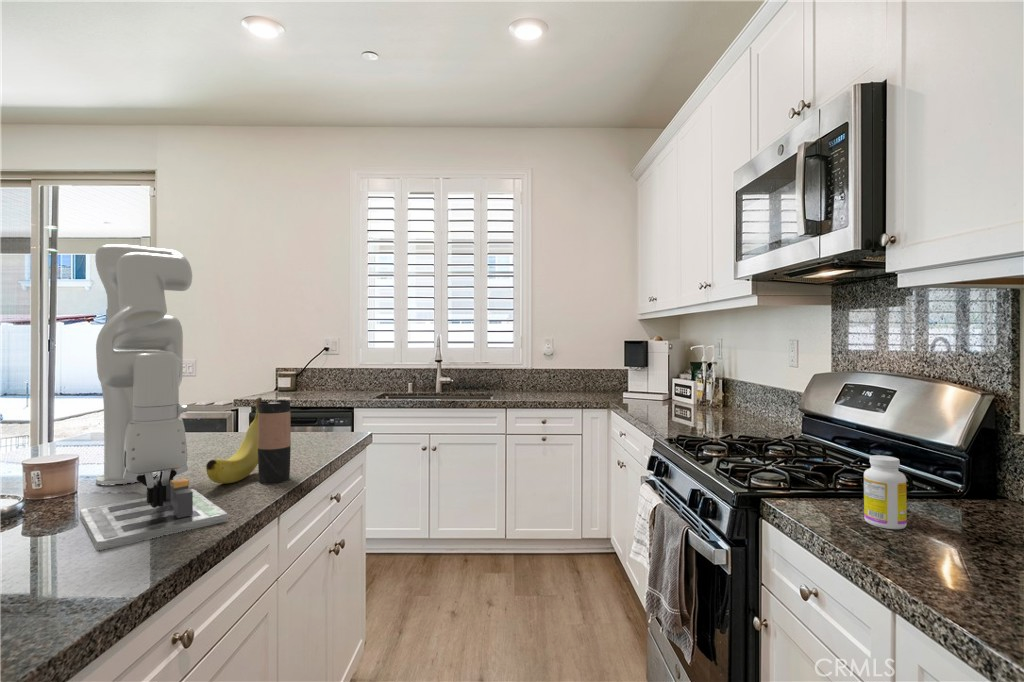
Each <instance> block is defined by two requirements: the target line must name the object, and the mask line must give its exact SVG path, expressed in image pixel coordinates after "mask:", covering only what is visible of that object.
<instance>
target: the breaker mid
mask: <svg viewBox="0 0 1024 682" xmlns="http://www.w3.org/2000/svg"><path fill="white" fill-rule="evenodd" d="M170 485H171V505H172V506H173V507H174V491H178V490H184V489H190V488H189V487H190V481H189V479H187V478H186V477H183V478H175V479H173V480H170Z"/></svg>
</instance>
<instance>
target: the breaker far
mask: <svg viewBox="0 0 1024 682" xmlns="http://www.w3.org/2000/svg"><path fill="white" fill-rule="evenodd" d="M155 479H156V481H155V484H157V482H158V481H159V476H156V478H155ZM171 480H174V477H173V478H172V479H171ZM167 499H171V485H170V481H169V483H168V485H166V500H167Z"/></svg>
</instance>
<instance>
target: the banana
mask: <svg viewBox="0 0 1024 682" xmlns="http://www.w3.org/2000/svg"><path fill="white" fill-rule="evenodd" d="M259 402H263V400H262V397H260V396H259V397H257V398H256V399H255V402H254V405H253V406H254V407H255V416H254V419H253V421H251V423H250V424H249V426H248V428H247V430H246V433H245V435H244V438H243V440H242V442H241V444H240V445H239V447H238V449H237V451H235V453H234V454H232V455H231V456H230V457H229V458H226V459H223V458H222V459H221V458H220V459H217V458H214V459H211V460H209V461H207V463H206V464H205V465H206V468H205V470H206V474H207V477H208V478H209V480H211V481H212V482H214V483H217V484H233V483H237V482H239V481H241V480H243V479H245V478H246V477H248V476H249V475H250V474H252V472H253V471H254V470H255V469H256V468H257V466H258V403H259Z"/></svg>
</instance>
